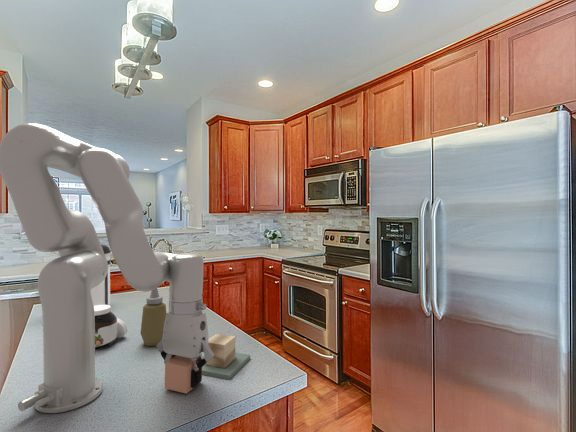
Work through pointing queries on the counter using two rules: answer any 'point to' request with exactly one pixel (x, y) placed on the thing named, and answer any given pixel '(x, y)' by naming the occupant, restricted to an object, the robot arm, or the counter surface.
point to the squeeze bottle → (153, 319)
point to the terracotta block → (178, 374)
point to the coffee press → (103, 283)
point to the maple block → (221, 350)
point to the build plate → (229, 369)
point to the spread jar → (107, 326)
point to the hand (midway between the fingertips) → (183, 381)
